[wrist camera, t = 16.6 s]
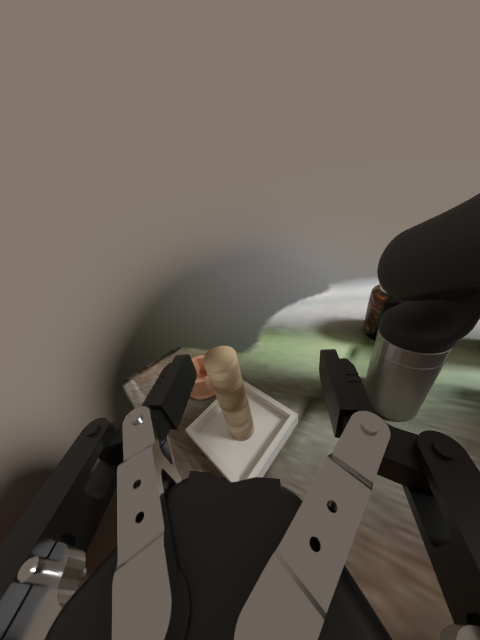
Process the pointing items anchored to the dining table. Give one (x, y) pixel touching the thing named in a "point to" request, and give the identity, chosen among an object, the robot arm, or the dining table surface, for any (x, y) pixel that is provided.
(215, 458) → the grey tray
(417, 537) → the dining table surface
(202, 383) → the sleeve cup
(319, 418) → the dining table surface
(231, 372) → the wood rod
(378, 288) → the jar
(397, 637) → the dining table surface
